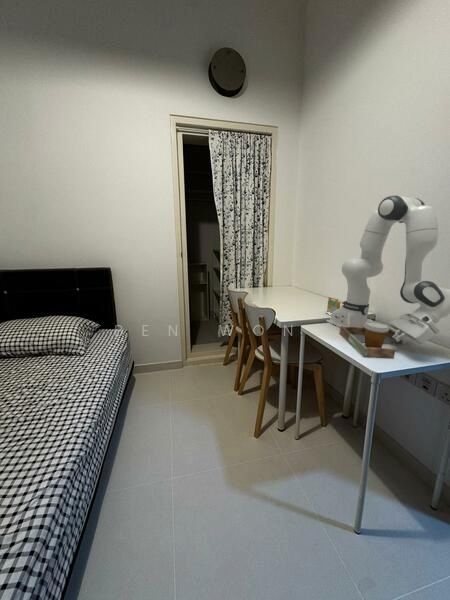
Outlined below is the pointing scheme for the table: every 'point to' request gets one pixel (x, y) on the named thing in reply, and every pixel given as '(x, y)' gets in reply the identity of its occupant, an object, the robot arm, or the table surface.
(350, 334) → the walnut corridor
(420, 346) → the table surface
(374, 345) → the disposable coffee cup
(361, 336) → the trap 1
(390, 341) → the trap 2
